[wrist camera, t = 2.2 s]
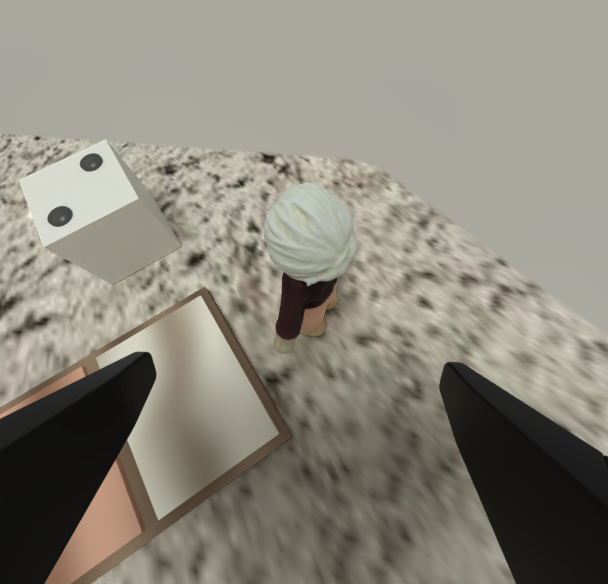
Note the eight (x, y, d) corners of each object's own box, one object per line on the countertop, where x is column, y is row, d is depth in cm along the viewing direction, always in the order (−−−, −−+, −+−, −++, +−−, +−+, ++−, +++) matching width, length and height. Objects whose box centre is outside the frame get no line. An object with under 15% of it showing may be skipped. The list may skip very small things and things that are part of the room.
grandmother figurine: (300, 262, 22) (284, 110, 10) (348, 274, 22) (389, 129, 10) (269, 357, 20) (200, 303, 8) (322, 373, 19) (334, 341, 7)
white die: (153, 196, 25) (104, 137, 19) (181, 246, 23) (137, 196, 17) (88, 230, 24) (16, 178, 18) (112, 284, 22) (41, 246, 16)
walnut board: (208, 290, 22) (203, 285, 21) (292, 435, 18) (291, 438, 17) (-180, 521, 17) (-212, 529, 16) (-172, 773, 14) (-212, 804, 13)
